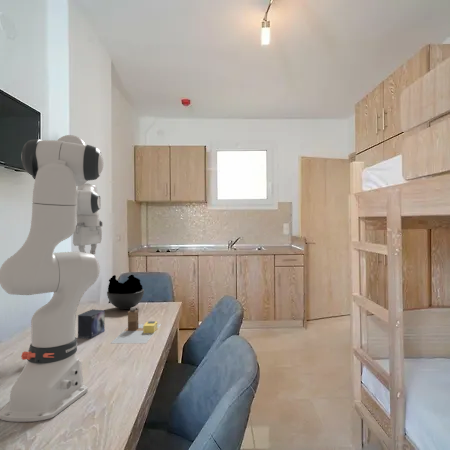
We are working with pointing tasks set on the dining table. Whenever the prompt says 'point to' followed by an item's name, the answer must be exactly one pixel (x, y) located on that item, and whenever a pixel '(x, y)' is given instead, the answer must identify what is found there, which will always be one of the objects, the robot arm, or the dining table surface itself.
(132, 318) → the wooden block with knob
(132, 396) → the dining table surface
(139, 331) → the board
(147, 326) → the block
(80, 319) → the small box
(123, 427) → the dining table surface
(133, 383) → the dining table surface
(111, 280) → the coal bowl
